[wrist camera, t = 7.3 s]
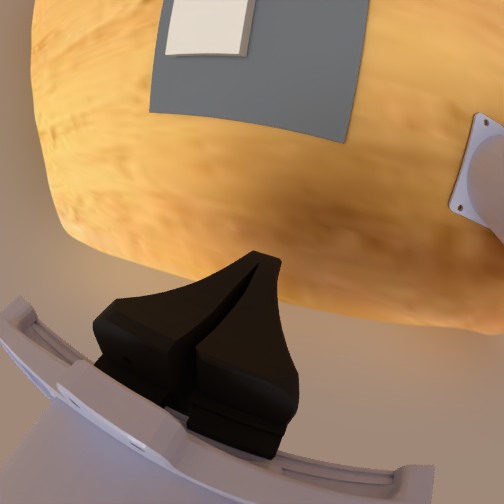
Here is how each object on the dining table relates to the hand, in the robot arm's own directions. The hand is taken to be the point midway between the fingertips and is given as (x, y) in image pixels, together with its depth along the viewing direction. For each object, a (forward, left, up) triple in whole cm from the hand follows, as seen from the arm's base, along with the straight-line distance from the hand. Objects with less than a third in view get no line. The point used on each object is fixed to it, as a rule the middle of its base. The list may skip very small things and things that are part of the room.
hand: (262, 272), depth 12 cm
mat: (+6, -13, -10) cm, 18 cm away
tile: (+6, -13, -9) cm, 17 cm away
